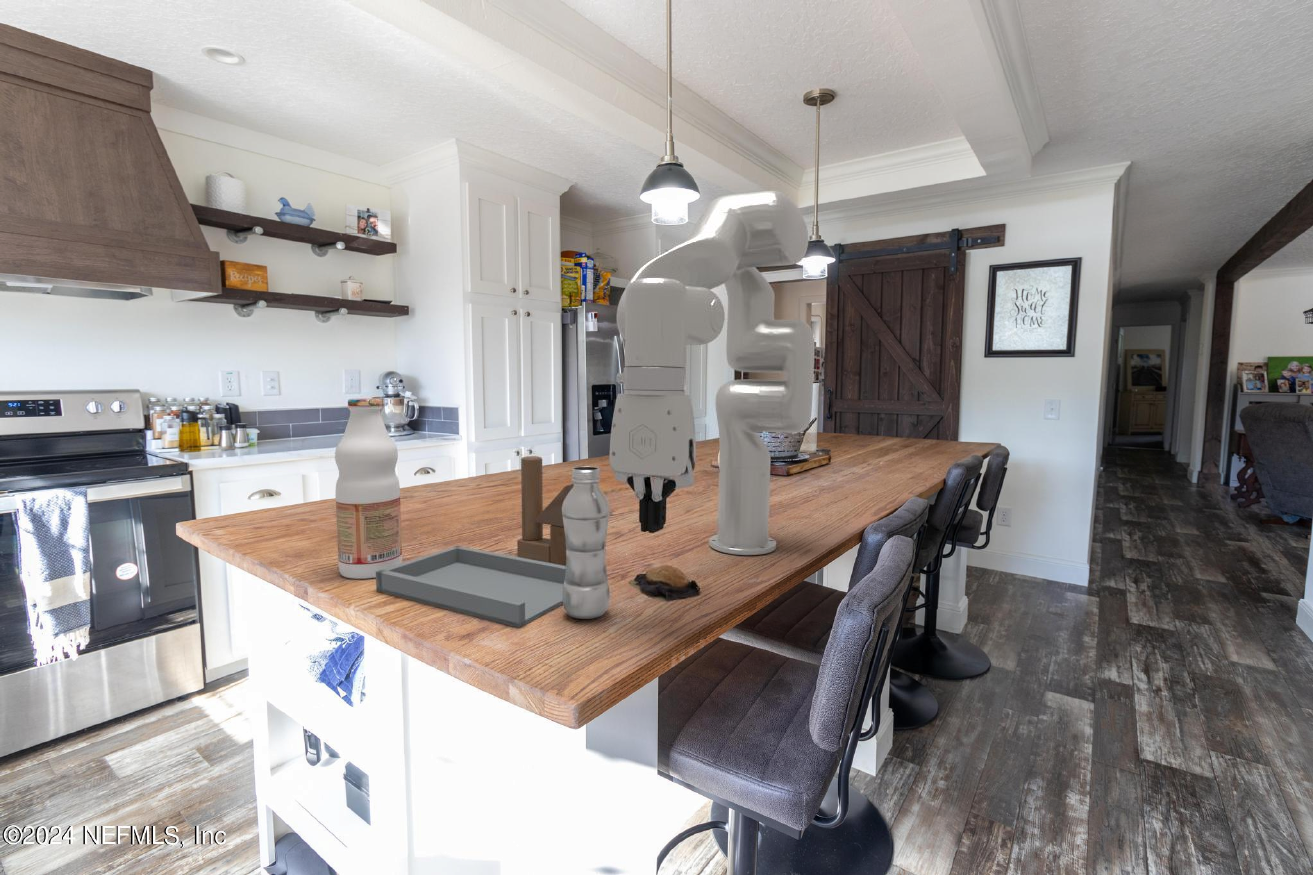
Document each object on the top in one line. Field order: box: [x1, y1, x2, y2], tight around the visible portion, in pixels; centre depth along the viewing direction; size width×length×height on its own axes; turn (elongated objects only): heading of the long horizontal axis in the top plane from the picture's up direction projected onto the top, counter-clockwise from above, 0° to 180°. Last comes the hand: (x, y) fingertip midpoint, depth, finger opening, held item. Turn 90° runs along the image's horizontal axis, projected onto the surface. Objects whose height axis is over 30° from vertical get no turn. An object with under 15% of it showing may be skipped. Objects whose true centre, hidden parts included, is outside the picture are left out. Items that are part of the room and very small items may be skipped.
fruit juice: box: [334, 398, 403, 580], centre depth 99 cm, size 9×9×28 cm
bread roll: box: [627, 564, 702, 603], centre depth 93 cm, size 11×8×4 cm
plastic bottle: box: [562, 465, 611, 620], centre depth 82 cm, size 6×7×20 cm
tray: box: [375, 545, 566, 629], centre depth 91 cm, size 16×27×3 cm, turn 62°
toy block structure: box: [516, 455, 574, 566], centre depth 105 cm, size 4×11×18 cm, turn 61°
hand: (652, 530), depth 77 cm, fingers closed
